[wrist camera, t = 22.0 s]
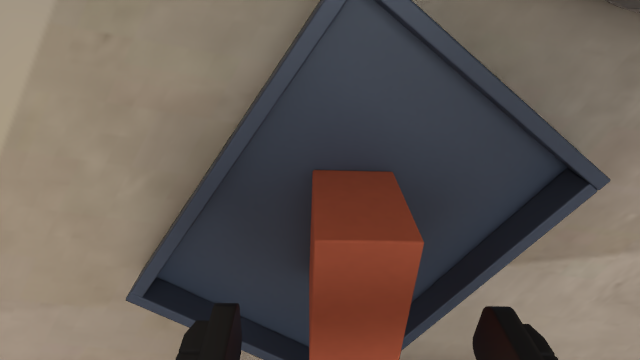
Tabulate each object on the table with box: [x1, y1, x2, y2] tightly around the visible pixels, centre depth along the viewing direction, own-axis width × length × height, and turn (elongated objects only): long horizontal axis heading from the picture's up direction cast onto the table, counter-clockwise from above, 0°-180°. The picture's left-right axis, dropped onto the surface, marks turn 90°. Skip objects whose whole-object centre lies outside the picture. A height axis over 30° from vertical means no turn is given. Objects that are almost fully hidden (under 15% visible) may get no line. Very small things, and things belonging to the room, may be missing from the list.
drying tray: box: [126, 0, 610, 360], centre depth 17 cm, size 17×13×2 cm
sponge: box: [309, 170, 424, 360], centre depth 15 cm, size 4×6×5 cm, turn 178°
